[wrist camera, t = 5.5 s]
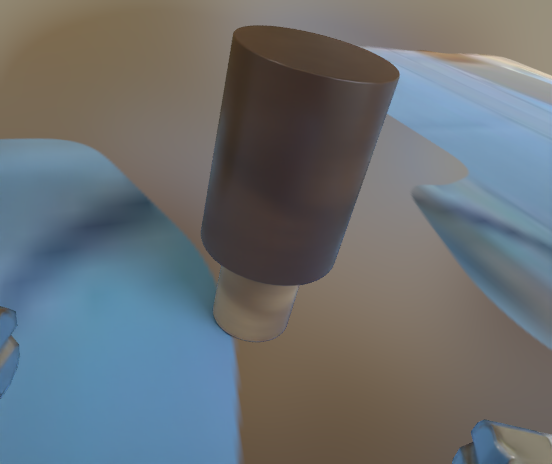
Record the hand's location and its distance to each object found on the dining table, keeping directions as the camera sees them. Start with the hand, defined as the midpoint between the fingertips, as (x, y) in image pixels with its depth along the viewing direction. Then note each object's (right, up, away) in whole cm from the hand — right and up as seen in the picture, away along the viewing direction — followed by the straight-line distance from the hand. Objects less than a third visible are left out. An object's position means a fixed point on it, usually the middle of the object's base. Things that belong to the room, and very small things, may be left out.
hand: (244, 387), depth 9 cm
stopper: (0, -1, +13) cm, 13 cm away
